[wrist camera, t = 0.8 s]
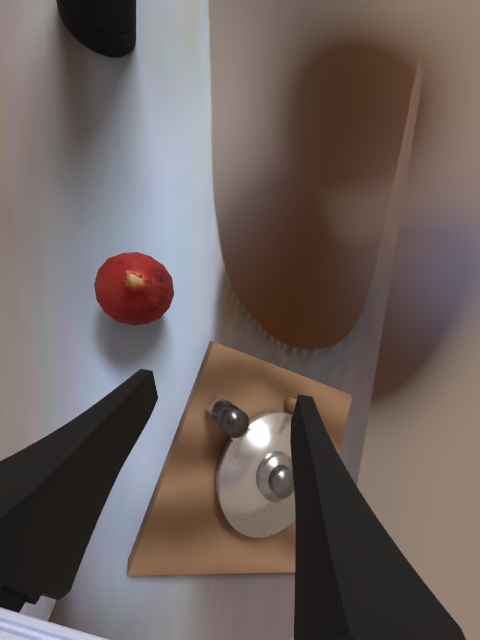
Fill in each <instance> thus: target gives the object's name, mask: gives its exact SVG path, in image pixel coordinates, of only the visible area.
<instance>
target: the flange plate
mask: <svg viewBox="0 0 480 640" xmlns="http://www.w3.org/2000/svg"><path fill="white" fill-rule="evenodd" d="M206 410H207V411H208V412H209V413H210V414H211V415H212V417H213V419H214V420H215V422H216V423H217V424H218V425H219V426H220V427H221V428H222V429H223V431H224V432H225V433H226V434H227V435H228V436H229V437H230V438H229V439H228V441H227V442H226V444H225V446H224V448H223V450H222V453H221V455H220V458H219V462H218V465H217V471H216V482H215V484H216V493H217V498H218V501H219V504H220V507H221V509H222V511H223V513H224V515H225V517H226V518H227V520H228V522H229V523H230V524H231V526H232V527H233V528H234V529H236V530H237V531H238V532H240V533H241V534H243V535H246V536H249V537H255V538H262V537H268V536H271V535H274V534H276V533H278V532H280V531H282V530H284V529H285V528H286V527H288V526H289V525H290V524H291V523H293V522H294V521H295V494H294V482H293V470H292V458H291V445H290V433H291V418H292V414H290V413H287V412H285V411H280V410H269V411H264V412H260V413H258V414H256V415H254V416H252V417H250V418H248V416H247V414H246V413H245V412H243V411H242V410H241V409H239V408H238V407H237V406H235V405H234V404H233V403H231V402H230V401H228V400H227V399H226V397H225V396H223V395H222V394H220V395H219V396H218V397H217V398H216V399H215V400H214V401H213V402H212V403H211V404H209V405H208V406H207V407H206Z"/></svg>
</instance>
